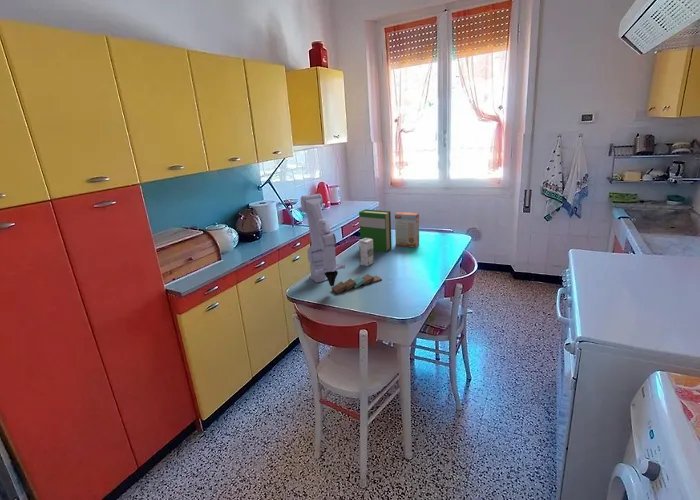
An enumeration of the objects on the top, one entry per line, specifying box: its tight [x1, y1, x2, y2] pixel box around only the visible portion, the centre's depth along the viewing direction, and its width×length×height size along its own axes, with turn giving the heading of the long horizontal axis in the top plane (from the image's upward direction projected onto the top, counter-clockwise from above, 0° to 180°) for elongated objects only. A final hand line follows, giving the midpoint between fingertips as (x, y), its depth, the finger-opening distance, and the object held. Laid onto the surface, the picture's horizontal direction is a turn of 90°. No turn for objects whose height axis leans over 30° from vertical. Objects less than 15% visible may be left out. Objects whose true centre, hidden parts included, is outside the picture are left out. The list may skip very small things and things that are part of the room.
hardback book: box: [358, 208, 393, 253], centre depth 225 cm, size 18×7×24 cm, turn 58°
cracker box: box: [394, 211, 420, 248], centre depth 228 cm, size 14×6×21 cm, turn 58°
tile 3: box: [361, 273, 374, 286], centre depth 182 cm, size 2×5×6 cm
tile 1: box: [330, 281, 347, 295], centre depth 175 cm, size 2×5×6 cm
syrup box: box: [358, 238, 375, 267], centre depth 203 cm, size 6×6×14 cm
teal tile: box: [353, 276, 365, 290], centre depth 180 cm, size 2×5×6 cm
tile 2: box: [343, 278, 356, 292], centre depth 177 cm, size 2×5×6 cm
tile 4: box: [369, 275, 383, 284], centre depth 184 cm, size 2×5×6 cm
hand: (331, 285), depth 173 cm, fingers closed
